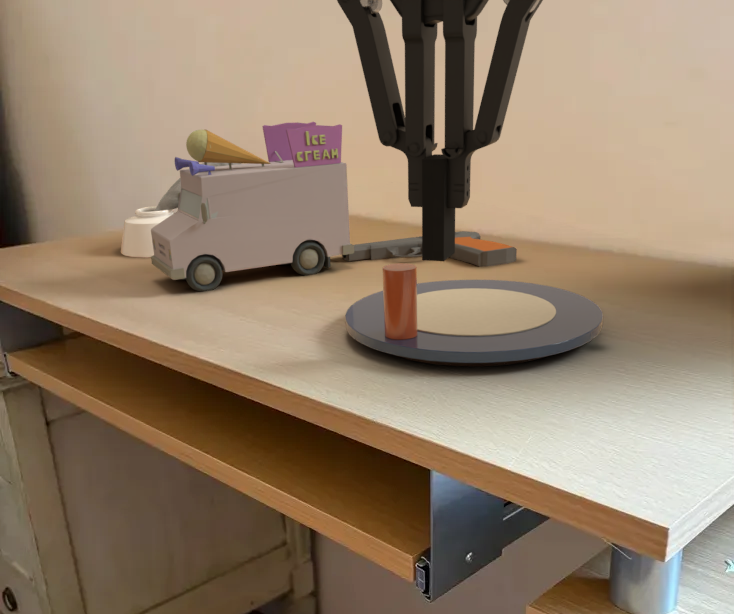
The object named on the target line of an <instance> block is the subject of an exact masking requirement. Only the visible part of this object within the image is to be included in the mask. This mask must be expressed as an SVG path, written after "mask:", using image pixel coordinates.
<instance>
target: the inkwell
mask: <svg viewBox="0 0 734 614" xmlns="http://www.w3.org/2000/svg"><path fill="white" fill-rule="evenodd" d="M201 164H203V165H205V163H204V162H201ZM238 164H242V163H231V165H238ZM207 165H209V166H214V167H217V166H228V165H229V163H209V162H207ZM180 191H181V180H180V177H179V178H178V179H177V180H176V181H175V182H174V183H173V184H172V185H171V186H170V187H169V188H168V189H167V191H166V192H165V194H164V195H163V196H162V197H161V198H160V200H159V202H158V203H157V205H154V206H153V205H152V206H145V207H141V208H137V209H135V211H134V214H135V215H133V216H130V217H127V218H126V219H125V220H124V223H123V229H122V237H121V245H120V254H122V255H123V256H125V257H131V258H144V259H145V258H151V256H153V255H154V250H153V243H152V235H151V229H152V228H153V227H155V226H156V225H158V224H159V223H160V222H162V221H163V220H165V219H166V218H168V217H169V216H171V215H172V214H174V213H175V212H174V211H175V210H176V209H178V205H179V202H178V192H179V195H180Z"/></svg>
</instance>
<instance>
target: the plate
mask: <svg viewBox="0 0 734 614" xmlns="http://www.w3.org/2000/svg"><path fill="white" fill-rule="evenodd" d="M417 268H418V267H417V265H415V264H412V263H405V262H404V263H401V262H398V263H390V264H386V265H384V266H383V267H382V287H383V288H382V290H380V291H377V292H374V293H371V294H369V295H367V296H364V297H362V298H360V299H358V300H357V301H355V302H354V303H353V304H351V305H350V306H349V307H348V308H347V310H346V312H345V315H344V318H345V319H344V320H345V330H346V331H347V334H348V335H349V336H350V337H351V338H352V339H353V340H355V341H357V342H358V343H360V344H361V345H364V346H366V347H368V348H370V349H373V350H376V351H379V352H382V353H386V354H388V355H393V356H396V355H397V356H396V357H399V356H402V357H407V358H413V359H420V360H428V361H439V362H456V363H491V362H508V361H518V360H526V359H533V358H540V357H544V358H546V357H545V356H547V357H550V356H553V355H559V354H561V353H565V352H569V351H572V350H574V349H577V348H579V347H582V346H584V345H586V344H588V343H590V342H591V341H592V340H594V339H595V338H597V336H598V335H599V334H600V333H601V331H602V327H603V323H604V313H603V310H602V309H601V307H600V306H599V305H598V304H596V303H595V302H594V301H593V300H591V299H589V298H588V297H585V296H583V295H582V294H579V293H576V292H573V291H570V290H566V289H563V288H558V287H554V286H550V285H544V284H540V283H539V284H538V283H532V282H526V281H525V282H524V281H516V280H502V279H500V280H499V279H451V280H449V279H448V280H438V281H427V282H420V283H419V282H418V279H417V278H418V269H417ZM549 355H550V356H549ZM402 357H401V358H402ZM540 359H541V358H540Z"/></svg>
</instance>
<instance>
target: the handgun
mask: <svg viewBox="0 0 734 614" xmlns="http://www.w3.org/2000/svg"><path fill="white" fill-rule="evenodd" d="M353 245H354V253H353V254H347V255H341V257H342V260H344V261H345V262H348V263H350V262H356V261H357V262H358V261H366V260H371V261H375V260H376V261H377V260H385V259H386V260H387V259H395V258H396V259H397V258H417V257H422V235H421V236H414V237H413V236H412V237H404V238H396V239H388V240H387V239H386V240H381V241H373V242H371V241H370V242H364V243H356V244H355V243H354V244H353ZM517 251H518V250H517V248H516V247H514V246H511V245H509V244H506V243H505V244H504V243H501V242H496V241H491V240H485V239H481V234H480V233H479V232H477V231H467V230H461V231H455V253H454V254H453V255H451V256H450V257H449V258H448V259H454V260H457V261H460V262H463V263H466V264H471V265H473V266H476V267H479V268H481V267H483V268H484V267H492V266H493V267H494V266H500V265H506V264H510V263H514V262H516V261H517V253H518V252H517Z"/></svg>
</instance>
